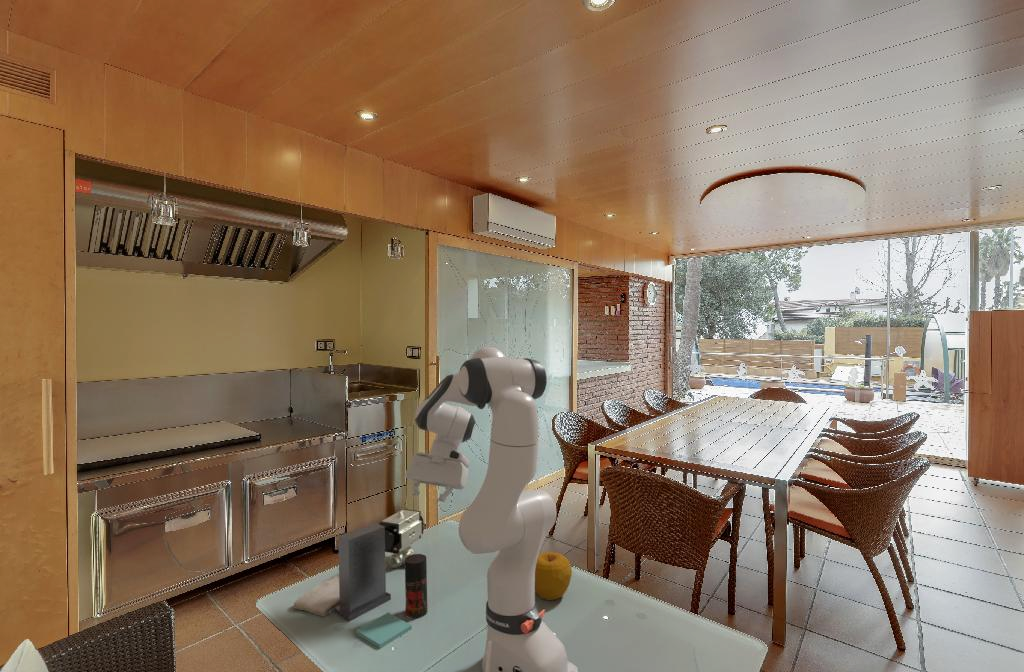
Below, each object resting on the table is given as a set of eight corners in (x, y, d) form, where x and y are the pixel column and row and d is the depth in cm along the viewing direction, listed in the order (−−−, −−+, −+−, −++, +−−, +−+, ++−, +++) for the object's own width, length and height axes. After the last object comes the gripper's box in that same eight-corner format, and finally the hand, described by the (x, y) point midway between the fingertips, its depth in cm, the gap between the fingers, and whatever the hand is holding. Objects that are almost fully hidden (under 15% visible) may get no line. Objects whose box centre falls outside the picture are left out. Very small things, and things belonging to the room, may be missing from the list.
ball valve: (397, 577, 154) (396, 522, 155) (375, 573, 158) (374, 519, 158) (428, 554, 171) (427, 504, 171) (408, 551, 174) (407, 502, 174)
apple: (522, 587, 146) (522, 550, 147) (561, 580, 150) (560, 543, 151) (538, 609, 134) (537, 568, 134) (580, 601, 138) (579, 561, 138)
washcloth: (367, 588, 149) (367, 578, 149) (324, 619, 132) (324, 608, 133) (337, 581, 154) (337, 572, 154) (292, 611, 137) (292, 600, 137)
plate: (411, 629, 126) (411, 625, 126) (379, 648, 119) (379, 644, 119) (387, 616, 133) (387, 612, 133) (356, 634, 125) (356, 630, 125)
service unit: (390, 599, 141) (389, 526, 142) (348, 621, 130) (347, 542, 131) (376, 592, 146) (375, 521, 146) (334, 613, 135) (333, 536, 135)
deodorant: (401, 612, 134) (400, 558, 134) (419, 604, 138) (418, 552, 139) (413, 621, 130) (412, 565, 130) (431, 612, 134) (430, 558, 134)
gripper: (410, 447, 154) (394, 489, 147) (467, 455, 146) (452, 500, 138) (419, 455, 159) (404, 496, 151) (474, 463, 151) (461, 507, 143)
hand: (427, 498), depth 145 cm, fingers open, 8 cm apart
